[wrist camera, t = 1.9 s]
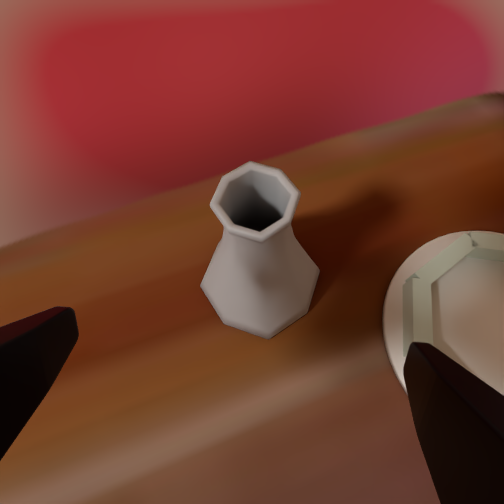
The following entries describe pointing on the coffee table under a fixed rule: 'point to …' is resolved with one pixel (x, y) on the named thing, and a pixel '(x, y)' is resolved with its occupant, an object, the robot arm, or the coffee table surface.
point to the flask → (258, 253)
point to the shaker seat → (450, 304)
